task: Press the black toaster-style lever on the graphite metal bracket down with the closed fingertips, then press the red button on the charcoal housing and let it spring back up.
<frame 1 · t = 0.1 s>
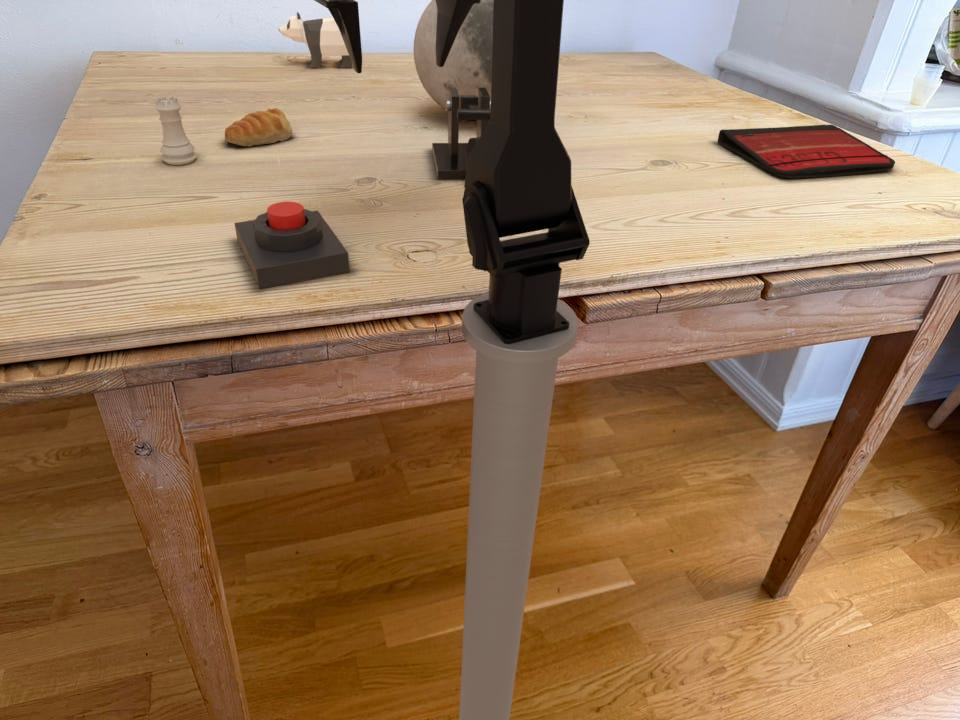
hand: (400, 69, 72), 16 cm above the table, tool pointing down, fingers open, 9 cm apart
rook chess piece: (180, 161, 92), on the table
button box: (292, 256, 71), on the table
moon model: (474, 117, 113), on the table
lever: (472, 109, 86), point 9 cm above the table, hinge at 10.0°
giant panda: (323, 66, 137), on the table
binder: (804, 158, 103), on the table
button: (286, 216, 68), point 4 cm above the table, slide at 0.1 cm
bracket: (466, 164, 95), on the table
pastry: (262, 140, 100), on the table
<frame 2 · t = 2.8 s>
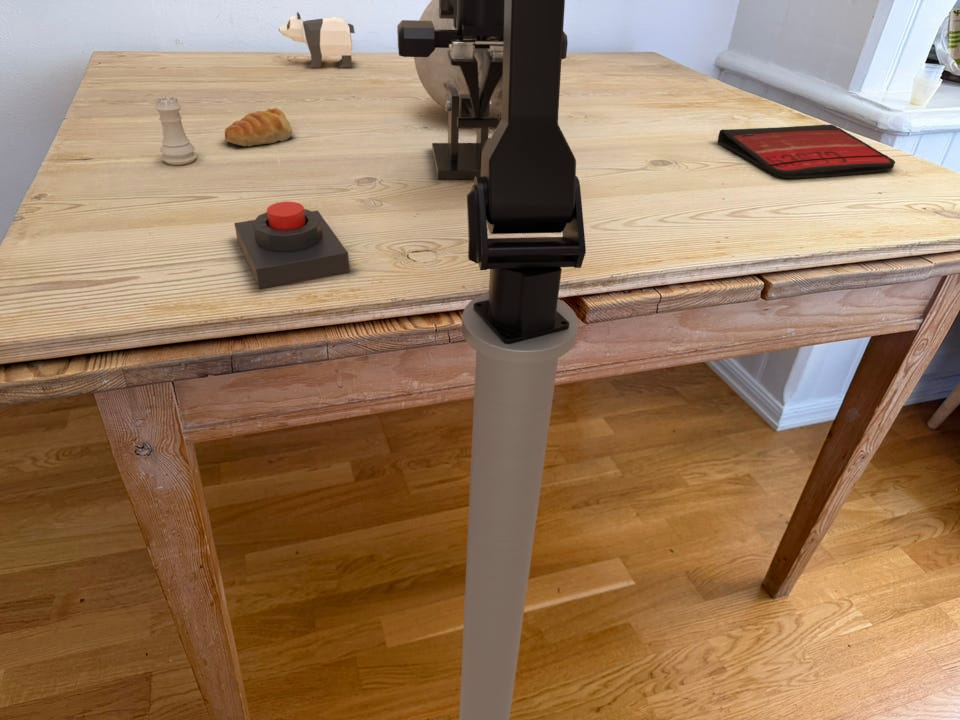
hand: (478, 117, 81), 9 cm above the table, tool pointing down, fingers closed, pressing on lever
lever: (472, 113, 86), point 8 cm above the table, hinge at 4.7°, touching gripper
everything else where it was.
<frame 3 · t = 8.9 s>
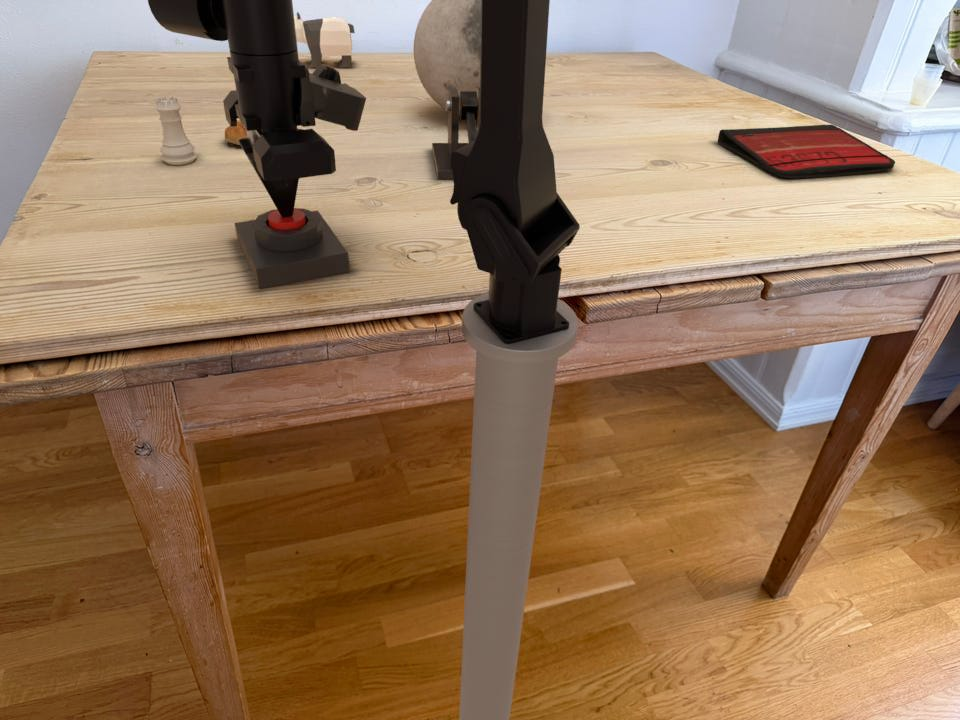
hand: (286, 215, 68), 5 cm above the table, tool pointing down, fingers closed, pressing on button
lever: (471, 130, 88), point 6 cm above the table, hinge at -24.9°
button: (287, 223, 69), point 4 cm above the table, slide at -0.7 cm, touching gripper
everything else where it was.
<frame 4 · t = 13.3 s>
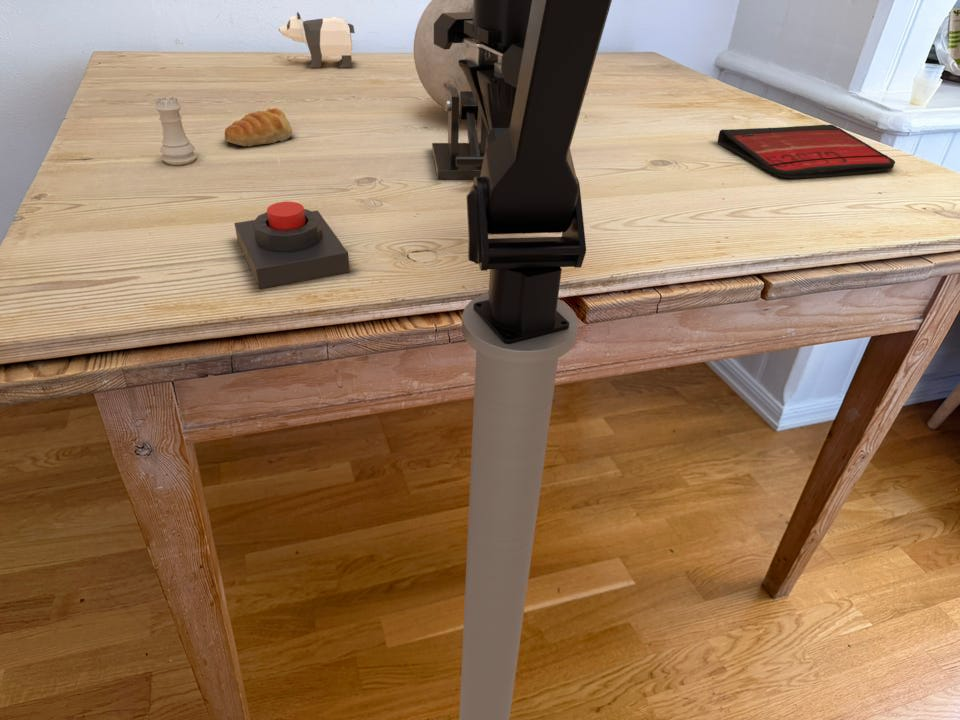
hand: (497, 141, 66), 12 cm above the table, tool pointing down, fingers closed
button: (286, 216, 68), point 4 cm above the table, slide at 0.1 cm
everything else where it was.
at the end: lever at -25° (first picture: +10°); button pushed in 1.1 cm at the most during the clip, back to where it started at the end; button slide at 0.1 cm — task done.
